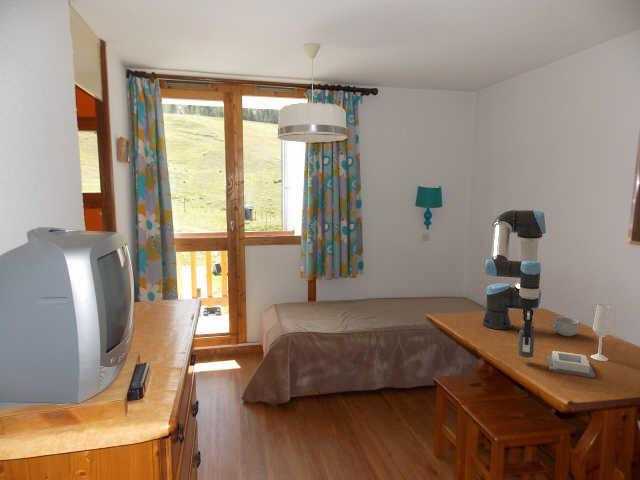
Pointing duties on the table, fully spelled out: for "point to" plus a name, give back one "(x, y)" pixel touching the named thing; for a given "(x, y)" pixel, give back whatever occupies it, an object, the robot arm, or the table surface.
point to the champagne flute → (601, 328)
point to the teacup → (565, 326)
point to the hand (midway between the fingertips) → (525, 348)
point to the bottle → (520, 350)
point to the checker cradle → (570, 364)
